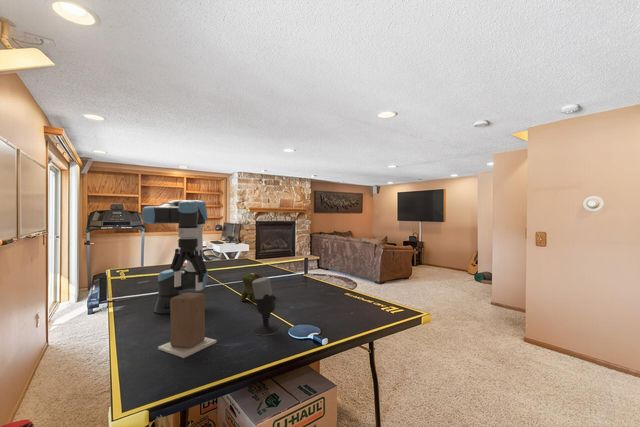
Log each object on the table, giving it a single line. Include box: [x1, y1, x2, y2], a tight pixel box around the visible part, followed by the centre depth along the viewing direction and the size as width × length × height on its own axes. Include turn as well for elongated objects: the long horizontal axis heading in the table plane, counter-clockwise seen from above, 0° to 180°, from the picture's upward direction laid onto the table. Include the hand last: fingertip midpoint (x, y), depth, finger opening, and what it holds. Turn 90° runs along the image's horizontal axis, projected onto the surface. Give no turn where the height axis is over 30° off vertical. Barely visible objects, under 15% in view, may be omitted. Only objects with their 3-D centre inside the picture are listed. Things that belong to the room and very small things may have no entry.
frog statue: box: [240, 272, 264, 303], centre depth 194 cm, size 19×16×25 cm
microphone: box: [251, 276, 280, 337], centre depth 141 cm, size 13×13×25 cm
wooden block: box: [169, 292, 206, 348], centre depth 125 cm, size 10×10×20 cm
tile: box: [157, 336, 217, 359], centre depth 125 cm, size 16×16×1 cm
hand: (188, 288), depth 125 cm, fingers open, 13 cm apart
